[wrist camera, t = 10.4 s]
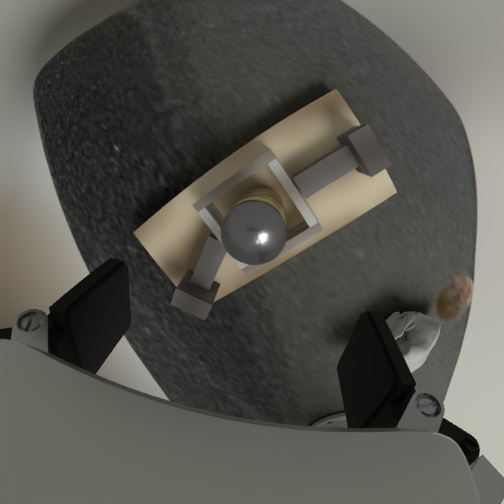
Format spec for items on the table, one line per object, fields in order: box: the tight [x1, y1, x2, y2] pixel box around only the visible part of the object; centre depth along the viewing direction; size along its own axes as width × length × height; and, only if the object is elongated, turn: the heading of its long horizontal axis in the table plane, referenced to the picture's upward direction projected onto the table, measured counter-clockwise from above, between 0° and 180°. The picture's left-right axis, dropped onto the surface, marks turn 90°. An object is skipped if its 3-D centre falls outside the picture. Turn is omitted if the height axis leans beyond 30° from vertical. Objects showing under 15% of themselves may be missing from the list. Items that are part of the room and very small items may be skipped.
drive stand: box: [134, 89, 397, 320], centre depth 24 cm, size 11×24×6 cm, turn 125°
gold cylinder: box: [221, 186, 287, 265], centre depth 21 cm, size 4×4×7 cm
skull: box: [386, 311, 441, 372], centre depth 28 cm, size 8×9×12 cm
